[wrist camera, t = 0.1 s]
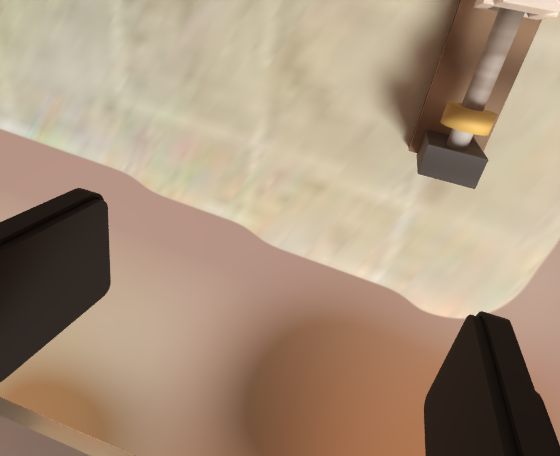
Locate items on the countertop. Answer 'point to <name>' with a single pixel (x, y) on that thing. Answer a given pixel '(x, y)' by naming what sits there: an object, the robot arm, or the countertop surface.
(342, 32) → the countertop surface
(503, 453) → the robot arm
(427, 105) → the rail
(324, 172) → the countertop surface
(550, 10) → the sleeve
